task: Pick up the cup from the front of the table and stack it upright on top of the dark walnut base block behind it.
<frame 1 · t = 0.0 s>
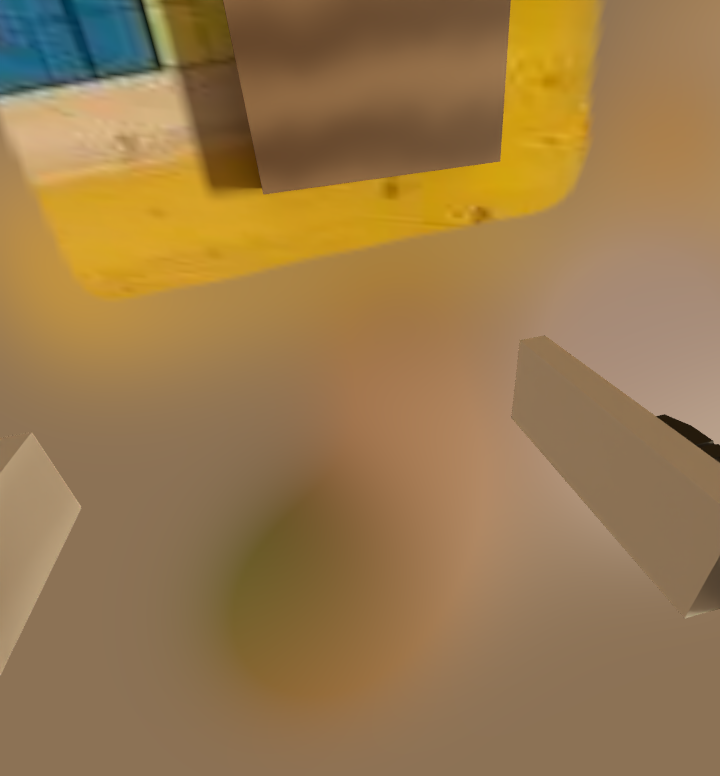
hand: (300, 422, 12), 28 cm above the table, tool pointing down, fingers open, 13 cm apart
walnut base: (362, 30, 30), on the table
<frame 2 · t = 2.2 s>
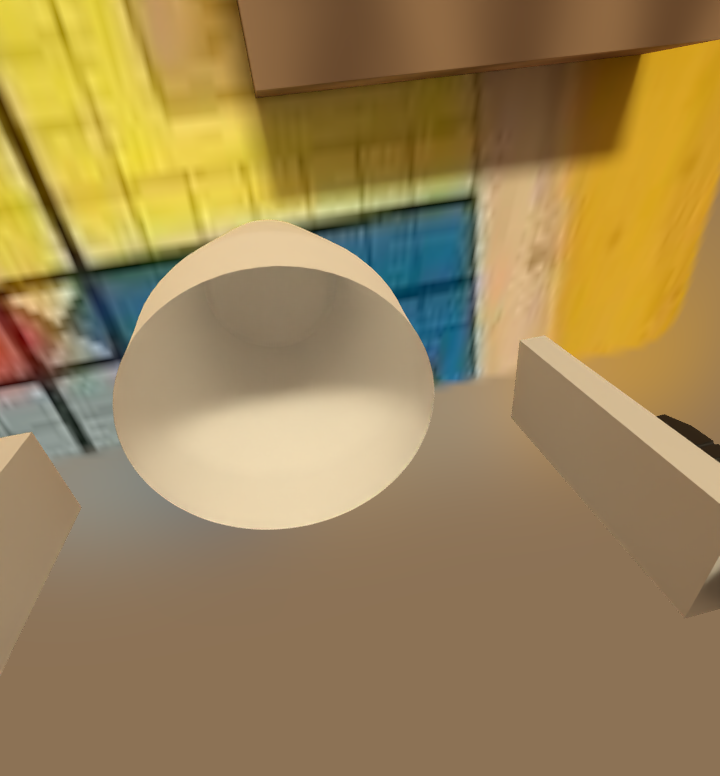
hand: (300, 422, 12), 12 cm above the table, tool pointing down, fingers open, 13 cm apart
cup: (272, 285, 22), on the table
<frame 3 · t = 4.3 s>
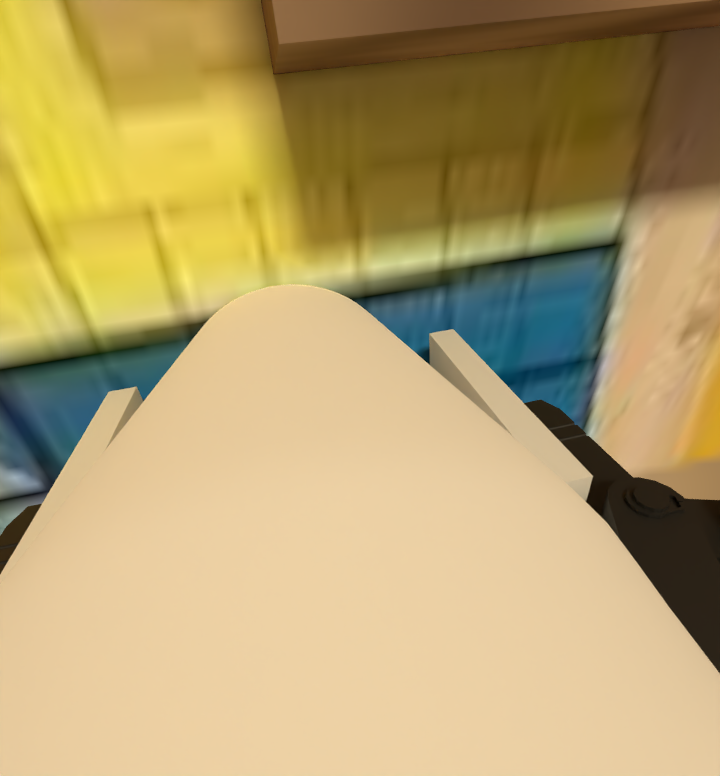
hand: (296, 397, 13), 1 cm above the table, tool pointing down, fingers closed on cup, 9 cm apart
cup: (294, 379, 14), on the table, touching gripper
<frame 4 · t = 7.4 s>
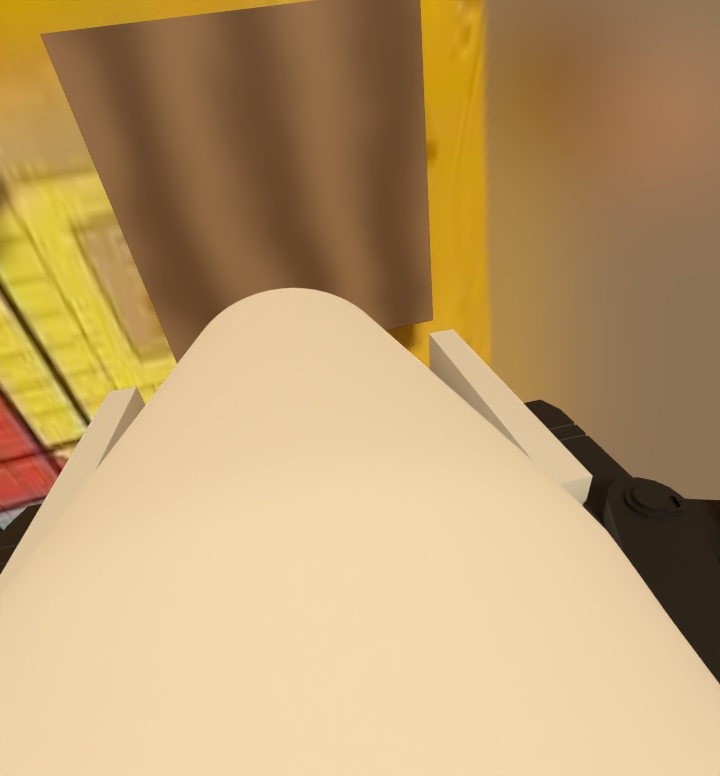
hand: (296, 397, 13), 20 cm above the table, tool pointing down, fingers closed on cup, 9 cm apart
walnut base: (278, 201, 28), on the table
cup: (294, 382, 14), point 19 cm above the table, touching gripper
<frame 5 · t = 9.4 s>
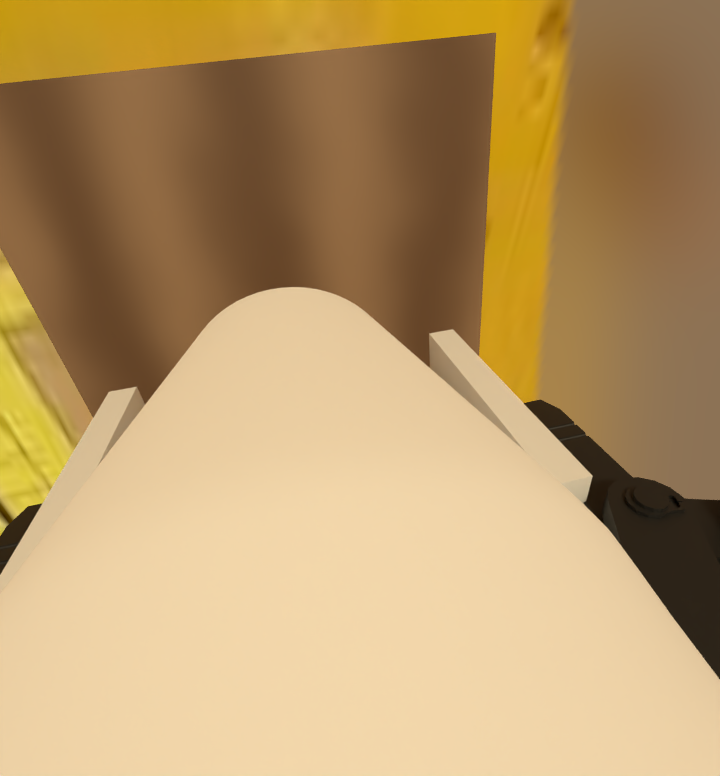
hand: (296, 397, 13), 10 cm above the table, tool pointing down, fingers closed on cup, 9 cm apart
walnut base: (280, 293, 21), on the table
cup: (295, 382, 14), point 9 cm above the table, touching gripper
when the fingers open (6 cm above the table, at t = 11.0 s): cup drops 1 cm, resting on walnut base.
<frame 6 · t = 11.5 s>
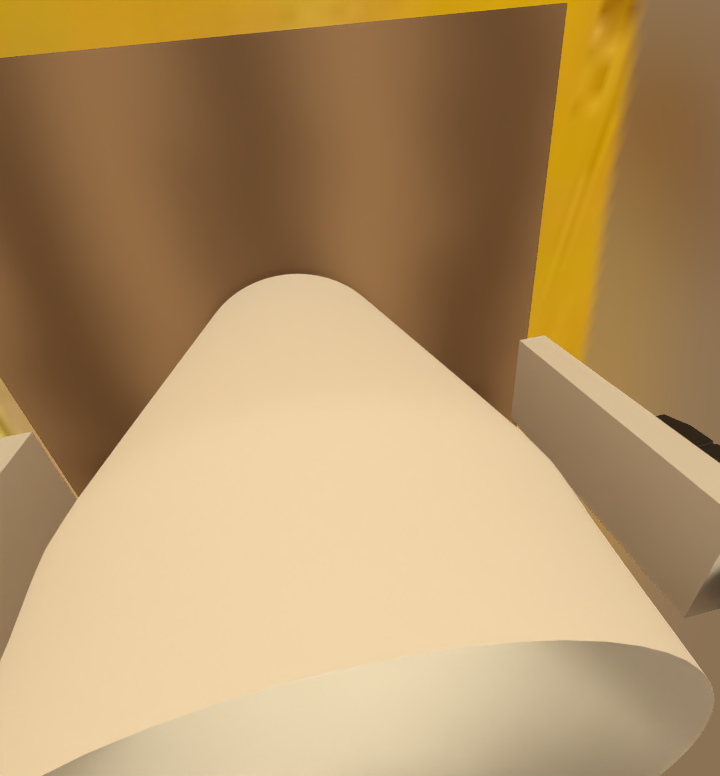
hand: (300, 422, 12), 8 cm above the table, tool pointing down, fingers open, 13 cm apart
walnut base: (287, 319, 18), on the table
cup: (299, 362, 15), point 4 cm above the table, touching walnut base
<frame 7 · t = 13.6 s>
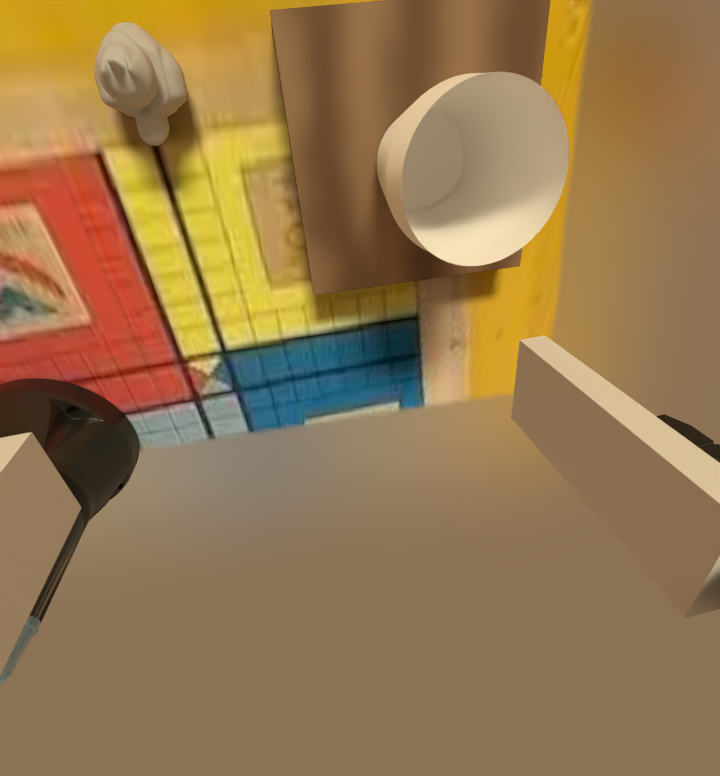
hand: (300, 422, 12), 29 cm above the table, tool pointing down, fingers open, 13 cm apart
walnut base: (404, 157, 34), on the table
cup: (419, 162, 31), point 4 cm above the table, touching walnut base
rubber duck: (153, 90, 30), on the table
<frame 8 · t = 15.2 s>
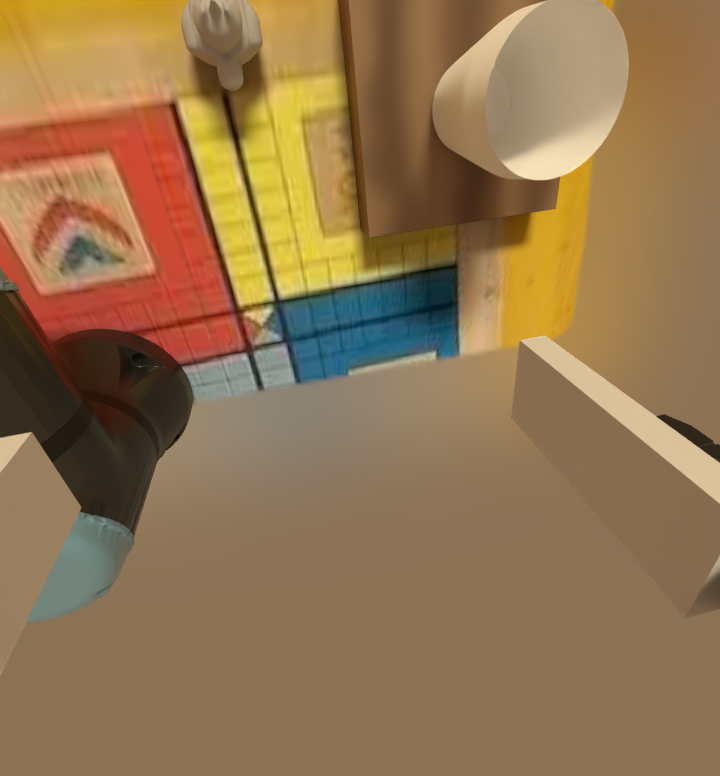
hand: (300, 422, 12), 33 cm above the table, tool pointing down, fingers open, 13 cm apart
walnut base: (449, 107, 37), on the table
cup: (469, 107, 34), point 4 cm above the table, touching walnut base
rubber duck: (226, 42, 32), on the table
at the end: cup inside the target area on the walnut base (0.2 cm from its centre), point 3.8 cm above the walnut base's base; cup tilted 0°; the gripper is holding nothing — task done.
